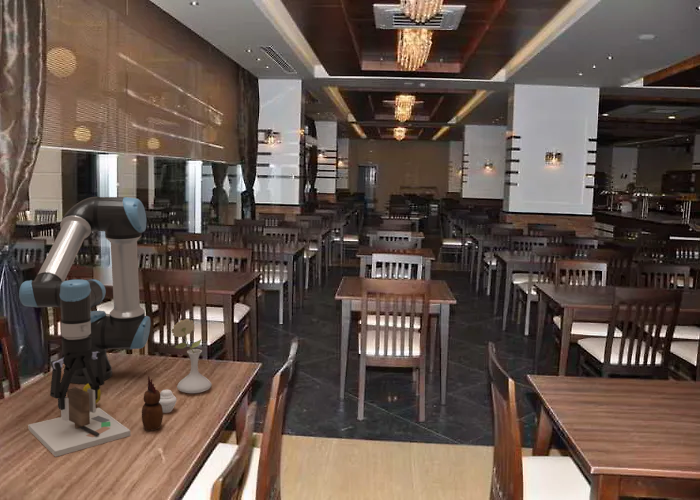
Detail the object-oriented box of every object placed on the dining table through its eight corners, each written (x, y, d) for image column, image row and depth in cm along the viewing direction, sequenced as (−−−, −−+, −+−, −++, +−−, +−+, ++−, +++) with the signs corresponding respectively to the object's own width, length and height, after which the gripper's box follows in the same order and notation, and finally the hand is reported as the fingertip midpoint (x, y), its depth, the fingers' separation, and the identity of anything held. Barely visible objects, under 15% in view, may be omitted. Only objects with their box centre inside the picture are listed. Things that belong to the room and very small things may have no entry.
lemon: (94, 410, 188) (93, 385, 187) (78, 408, 190) (77, 384, 189) (104, 404, 194) (104, 379, 193) (89, 402, 195) (88, 378, 194)
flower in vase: (209, 383, 215) (209, 314, 212) (213, 394, 205) (213, 321, 202) (171, 386, 211) (170, 315, 208) (172, 398, 201) (172, 323, 197)
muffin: (175, 414, 187) (175, 392, 186) (154, 415, 186) (154, 393, 185) (177, 406, 193) (177, 385, 192) (157, 407, 192) (157, 386, 191)
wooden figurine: (140, 424, 179) (140, 375, 177) (161, 422, 181) (160, 373, 180) (142, 434, 173) (142, 382, 171) (164, 431, 175) (163, 380, 173)
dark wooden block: (76, 422, 175) (75, 387, 174) (102, 434, 168) (101, 397, 167) (68, 424, 173) (67, 389, 172) (94, 437, 166) (93, 400, 165)
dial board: (99, 412, 187) (99, 407, 187) (130, 435, 172) (130, 430, 171) (28, 429, 174) (28, 424, 173) (55, 456, 158) (55, 451, 158)
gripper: (47, 346, 159) (50, 430, 162) (117, 331, 175) (118, 408, 178) (33, 341, 163) (36, 423, 166) (102, 327, 179) (103, 402, 182)
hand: (78, 415), depth 172 cm, fingers open, 7 cm apart
